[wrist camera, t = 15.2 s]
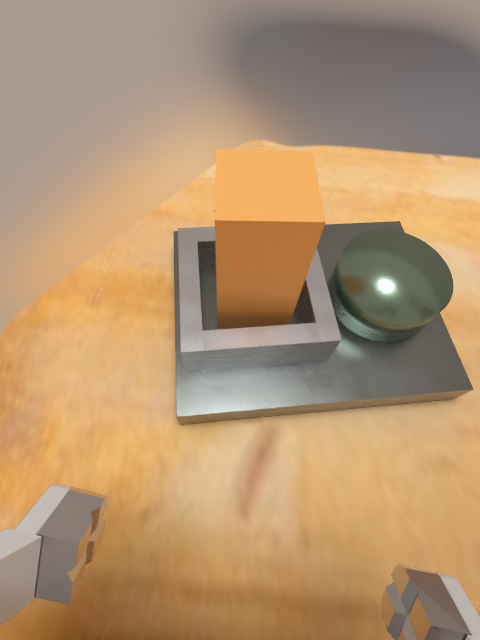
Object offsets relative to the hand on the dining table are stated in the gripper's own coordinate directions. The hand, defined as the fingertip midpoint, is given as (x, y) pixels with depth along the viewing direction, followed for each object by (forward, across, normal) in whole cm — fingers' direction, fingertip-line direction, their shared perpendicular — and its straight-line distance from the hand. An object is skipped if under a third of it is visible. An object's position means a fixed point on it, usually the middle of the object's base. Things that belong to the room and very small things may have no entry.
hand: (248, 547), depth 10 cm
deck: (+17, -3, -4) cm, 18 cm away
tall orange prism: (+15, +1, -4) cm, 16 cm away
